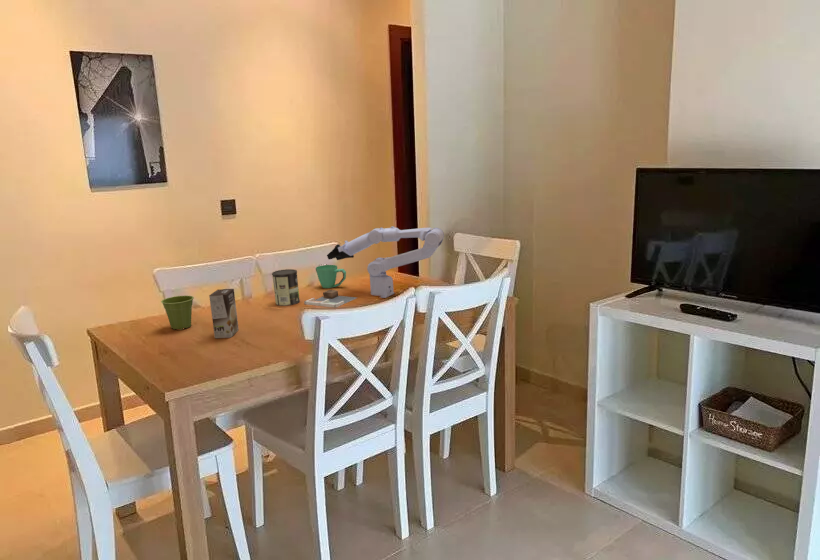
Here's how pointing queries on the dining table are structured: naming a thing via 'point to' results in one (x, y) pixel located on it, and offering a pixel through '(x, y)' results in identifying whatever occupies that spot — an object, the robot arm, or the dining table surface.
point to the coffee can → (286, 287)
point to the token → (330, 294)
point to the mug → (329, 275)
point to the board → (329, 301)
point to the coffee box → (224, 313)
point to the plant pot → (179, 311)
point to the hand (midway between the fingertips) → (332, 257)
